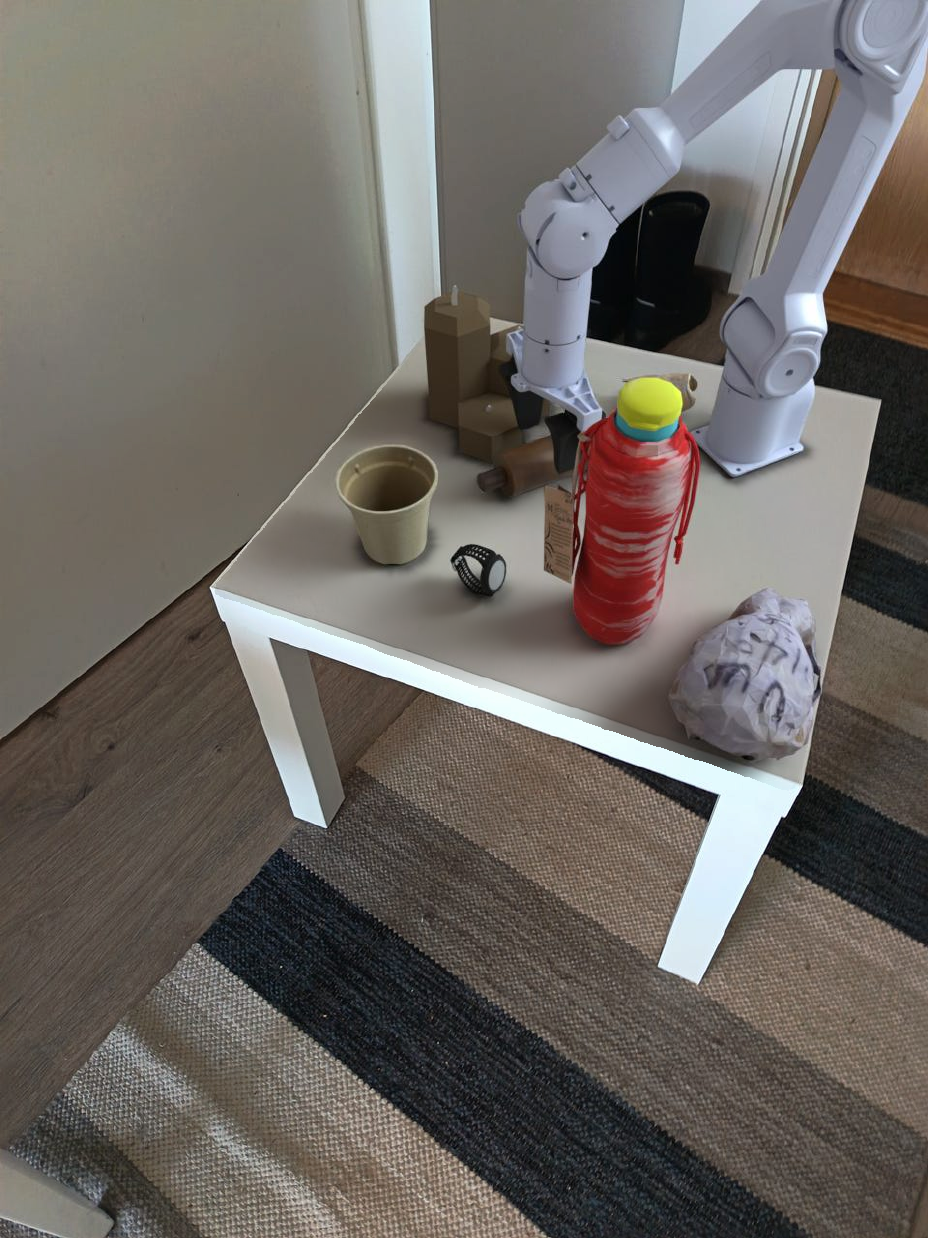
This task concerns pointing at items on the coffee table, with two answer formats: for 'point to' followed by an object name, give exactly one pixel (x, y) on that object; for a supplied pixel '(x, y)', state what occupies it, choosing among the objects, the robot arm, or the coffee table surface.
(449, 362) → the candle
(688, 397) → the shell
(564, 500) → the water bottle
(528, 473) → the rolling pin
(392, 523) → the flower pot
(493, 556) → the smartwatch
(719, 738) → the scribbled crumpled paper bundle
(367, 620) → the coffee table surface
